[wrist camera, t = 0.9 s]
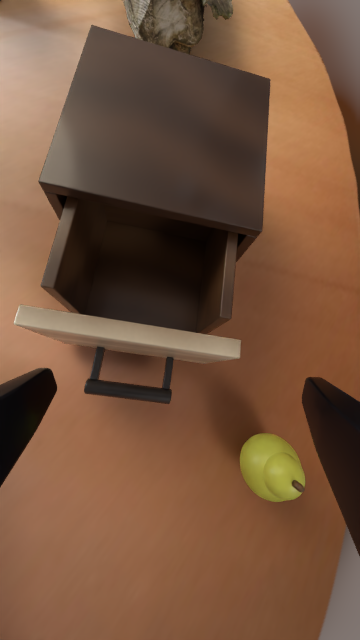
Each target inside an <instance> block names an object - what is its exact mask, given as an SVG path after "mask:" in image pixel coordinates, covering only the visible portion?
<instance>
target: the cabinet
mask: <svg viewBox="0 0 360 640" xmlns="http://www.w3.org/2000/svg"><path fill="white" fill-rule="evenodd" d="M269 96H270V79H269V78H265V77H262V76H259V75H255V74H252V73H249V72H245V71H242V70H239V69H236V68H232V67H229V66H226V65H222V64H219V63H216V62H212V61H209V60H206V59H203V58H199V57H196V56H193V55H189V54H186V53H183V52H179V51H176V50H173V49H170V48H166V47H163V46H160V45H156V44H153V43H150V42H146V41H143V40H140V39H137V38H133V37H130V36H127V35H123V34H120V33H117V32H113V31H110V30H107V29H103V28H100V27H97V26H94V25H91V28H90V31H89V34H88V37H87V40H86V43H85V46H84V49H83V51H82V54H81V57H80V60H79V63H78V66H77V69H76V72H75V75H74V78H73V81H72V84H71V87H70V90H69V93H68V96H67V99H66V102H65V105H64V107H63V110H62V113H61V116H60V119H59V122H58V125H57V128H56V131H55V134H54V137H53V140H52V143H51V146H50V149H49V152H48V155H47V158H46V161H45V163H44V166H43V169H42V172H41V175H40V178H39V184H40V185H41V187H42V189H43V191H44V193H45V195H46V196H47V198H48V200H49V202H50V204H51V205H52V207H53V209H54V211H55V213H56V215H57V216H58V218H59V220H60V219H61V216H62V212H63V209H64V205H65V202H66V199H67V196H69V197H74V198H79V199H83V200H88V201H92V202H97V203H102V204H106V205H111V206H115V207H120V208H125V209H129V210H134V211H138V212H143V213H148V214H152V215H157V216H162V217H166V218H171V219H175V220H180V221H185V222H189V223H194V224H198V225H203V226H208V227H212V228H217V229H221V230H226V231H231V232H235V233H238V241H237V254H236V262H237V261H238V260H239V258H240V257H241V256H242V255H243V254H244V252H245V251H246V250H247V249H248V248H249V246H250V245H251V244H252V243H253V242H254V240H255V239H256V238H257V237H258V236H259V234H260V233H261V232H262V227H263V208H264V190H265V171H266V152H267V133H268V115H269Z"/></svg>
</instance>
